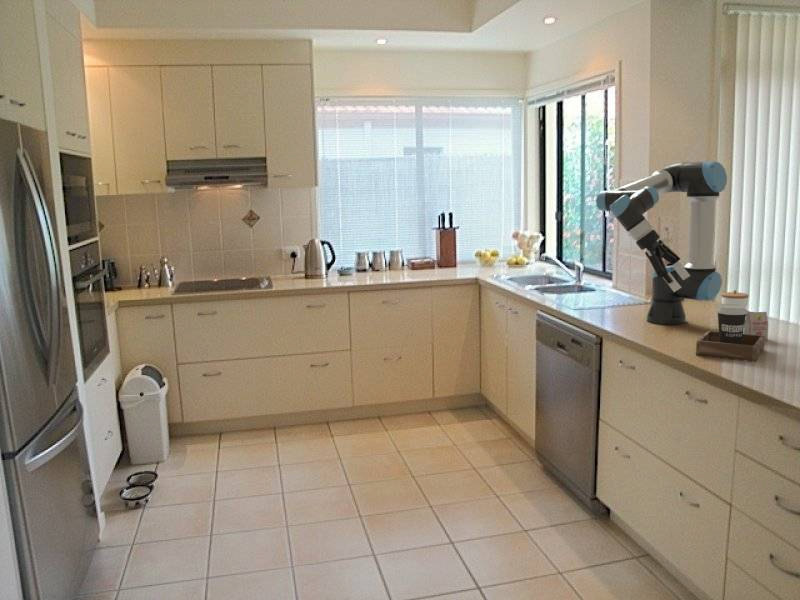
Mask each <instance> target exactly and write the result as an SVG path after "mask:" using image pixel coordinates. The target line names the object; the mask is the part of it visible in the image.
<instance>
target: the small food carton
mask: <svg viewBox="0 0 800 600" xmlns="http://www.w3.org/2000/svg"><path fill="white" fill-rule="evenodd" d="M747 312H748V311H747ZM743 334H750V335H761V336H765V339H764V341H767V340H768V335H769V320H768V312H767V311H752V312H751V311H749V312H748V314H746V318H745V324H744V331H743Z"/></svg>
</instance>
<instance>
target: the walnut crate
mask: <svg viewBox="0 0 800 600" xmlns="http://www.w3.org/2000/svg"><path fill="white" fill-rule="evenodd" d="M764 339H765V336H761V335H750V334H744V333H743V338H742V344H731V343H721V342H719V331H714V330H707V331H706V332H705V333H704V334H702V335H701V336H700V337H699V338H698V339H697V340H696V346H695V355H696V356H698V355H702V356H701V357H707V356H712V357H711V358H716V357H720V358H719V359H725V358H728V359H727V360H734V359H738V360H737V361H743V360H747V361H746V362H752V361H755V362H754V363H756V362H757V361H756V360H758V359H759V358H760V356H761V355H762V354H763V352H764V351H763V350H765V340H764ZM758 357H759V358H758Z"/></svg>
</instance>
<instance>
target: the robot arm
mask: <svg viewBox="0 0 800 600" xmlns="http://www.w3.org/2000/svg"><path fill="white" fill-rule="evenodd" d="M727 183H728V176H727V172H726V169H725V167H724V166H723V164H721V163H720V162H718V161H714V160H713V161H712V160H705V161H690V162H689V161H686V162H685V161H683V162H679V163H674V164H672V165H671V164H670V165H669V166H666V167H664V168H660V169H658V170H656V171H654V172H653V173H652V175H649V176H647V177H645V178H642V179H639V180H637V181H634V182H632V183H628V184H626V185H623V186H621V187H618V188H615V189H611V190H602V191H599V192H598V194H597V195H596V199H595V202H596V205H595V206H596V208H597V210H600V211H602V212H606V213H607V212H611V213H612V214H613V216H614V218H616V219H617V221H618V222H619V223H620V225H621V226H622V228H624V230H625V231H626V232H627V233H628V236H629V237H631V239H632V240H633V241H635V244H636V245H637V246H638V247H639V249H640V250H642V251H644V250H645V249H646V252H644V254H645V256H646V258H647V259H648V260H649V262H650V264H651V265H652V268H653V272H652V277H651V278H652V284H651V285H652V292H651V304H650V307H649V310H648V312H647V314H646V321H647V322H649V323H653V324H659V325H682V324H685V323H686V321H687V316H686V313H685V309H684V306H683V299H684V300H685V299H687V300H693V301H698V302H711V301H713V300H714V299H715V298H716V297H717V296H718V295H719V293H720V291H721V288H722V283H723V282H722V281H723V278H722V276H721V273H720V272H718V271H717V267H716V265H715V264H714V263H713V250H714V249H713V248H714V247H713V246H714V245H713V243H714V229H715V227H714V224H715V220H714V219H715V207H716V206H715V205H716V204H715V203H716V201H717V200H718V199H719V198H720V193H721V192H723V191H724V190H725V189H726V186H727ZM667 193H686V198H687V199H688V200H689V201H690V210H689V211H690V213H689V215H690V216H689V232H688V234H689V237H688V238H689V241H688V257H687V263H686V264H685V265H682V263H681V262H680V260H681V257H680V256H679V255H678V254H676V253H675V252H674V251H673V250H672V249H671V248H669V246H667V245H666V244H665V243H664V242H663V241H662V239H660V238H661V237H660V235H659V234H658V233H657V231H656V230H655V229H653V226H652V225H651V224H650V222H649V221H648V219H647V218H646V217H645V216H644V214H645V213H646V212H648V211H649V210H651V209H653V208H654V207H655V205H656V204H658V202H659V201H660V194H661V195H664V194H667ZM664 260H665V261H667V263H670V264H671V265H665V262H664Z"/></svg>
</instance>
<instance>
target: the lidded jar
mask: <svg viewBox="0 0 800 600" xmlns="http://www.w3.org/2000/svg"><path fill="white" fill-rule="evenodd" d="M720 295H721V305H722V304H737V305H743V306H745V307H746V308H747V306H748V301H749V294H748V293H747V292H746V293H745V292H737V290H736V289H734V290H733V291H727V292H723V293H721V294H720Z"/></svg>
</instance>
